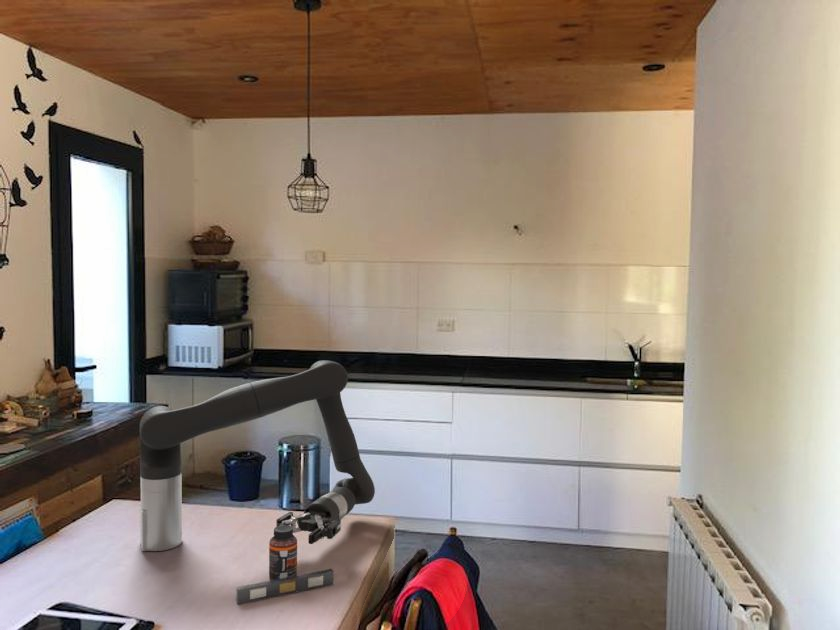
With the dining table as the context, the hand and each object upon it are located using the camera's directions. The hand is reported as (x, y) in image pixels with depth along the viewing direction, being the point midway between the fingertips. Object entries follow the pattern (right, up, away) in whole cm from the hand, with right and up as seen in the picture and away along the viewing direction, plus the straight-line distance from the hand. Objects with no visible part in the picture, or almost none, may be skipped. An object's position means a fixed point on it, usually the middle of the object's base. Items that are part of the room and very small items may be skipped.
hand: (292, 536), depth 144 cm
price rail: (0, -9, -9) cm, 12 cm away
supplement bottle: (-2, -8, -3) cm, 9 cm away
